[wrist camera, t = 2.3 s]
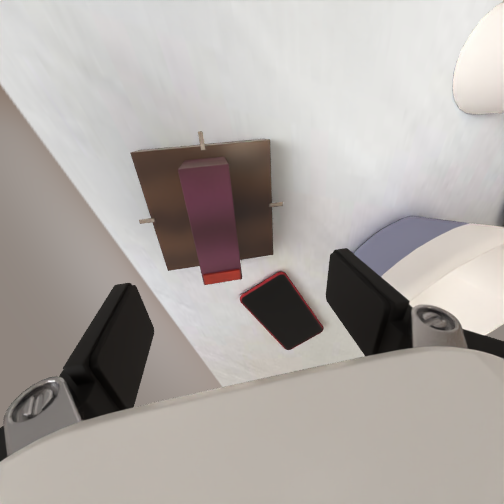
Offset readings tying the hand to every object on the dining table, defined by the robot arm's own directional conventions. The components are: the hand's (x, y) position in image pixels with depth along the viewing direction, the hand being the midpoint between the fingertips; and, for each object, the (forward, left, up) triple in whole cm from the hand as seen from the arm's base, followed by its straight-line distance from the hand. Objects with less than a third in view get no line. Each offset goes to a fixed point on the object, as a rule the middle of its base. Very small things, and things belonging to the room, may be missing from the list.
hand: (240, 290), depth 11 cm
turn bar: (0, -1, -13) cm, 13 cm away
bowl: (+11, +23, -16) cm, 30 cm away
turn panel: (0, -1, -16) cm, 16 cm away
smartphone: (+18, +7, -16) cm, 25 cm away
